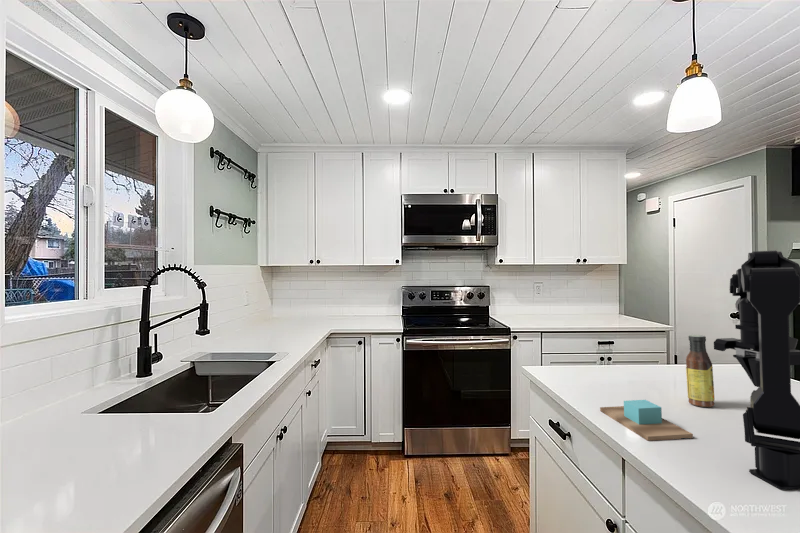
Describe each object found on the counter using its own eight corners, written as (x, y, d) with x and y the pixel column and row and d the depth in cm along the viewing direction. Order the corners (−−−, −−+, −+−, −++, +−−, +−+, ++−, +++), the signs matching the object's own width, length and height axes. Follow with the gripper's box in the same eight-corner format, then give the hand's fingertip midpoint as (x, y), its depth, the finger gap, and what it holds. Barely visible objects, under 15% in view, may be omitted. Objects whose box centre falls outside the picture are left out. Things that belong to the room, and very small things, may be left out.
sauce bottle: (719, 408, 112) (716, 337, 112) (694, 407, 113) (691, 337, 113) (706, 401, 118) (704, 333, 118) (683, 400, 119) (680, 333, 120)
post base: (693, 438, 94) (692, 423, 94) (647, 440, 93) (647, 425, 93) (637, 408, 114) (637, 396, 114) (600, 410, 113) (599, 398, 113)
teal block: (662, 423, 100) (661, 407, 100) (639, 424, 100) (638, 408, 100) (645, 414, 106) (645, 399, 106) (624, 415, 106) (623, 400, 106)
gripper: (831, 325, 87) (834, 397, 87) (751, 315, 106) (753, 375, 105) (782, 327, 86) (785, 399, 86) (710, 317, 105) (713, 376, 105)
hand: (758, 386), depth 96 cm, fingers closed
